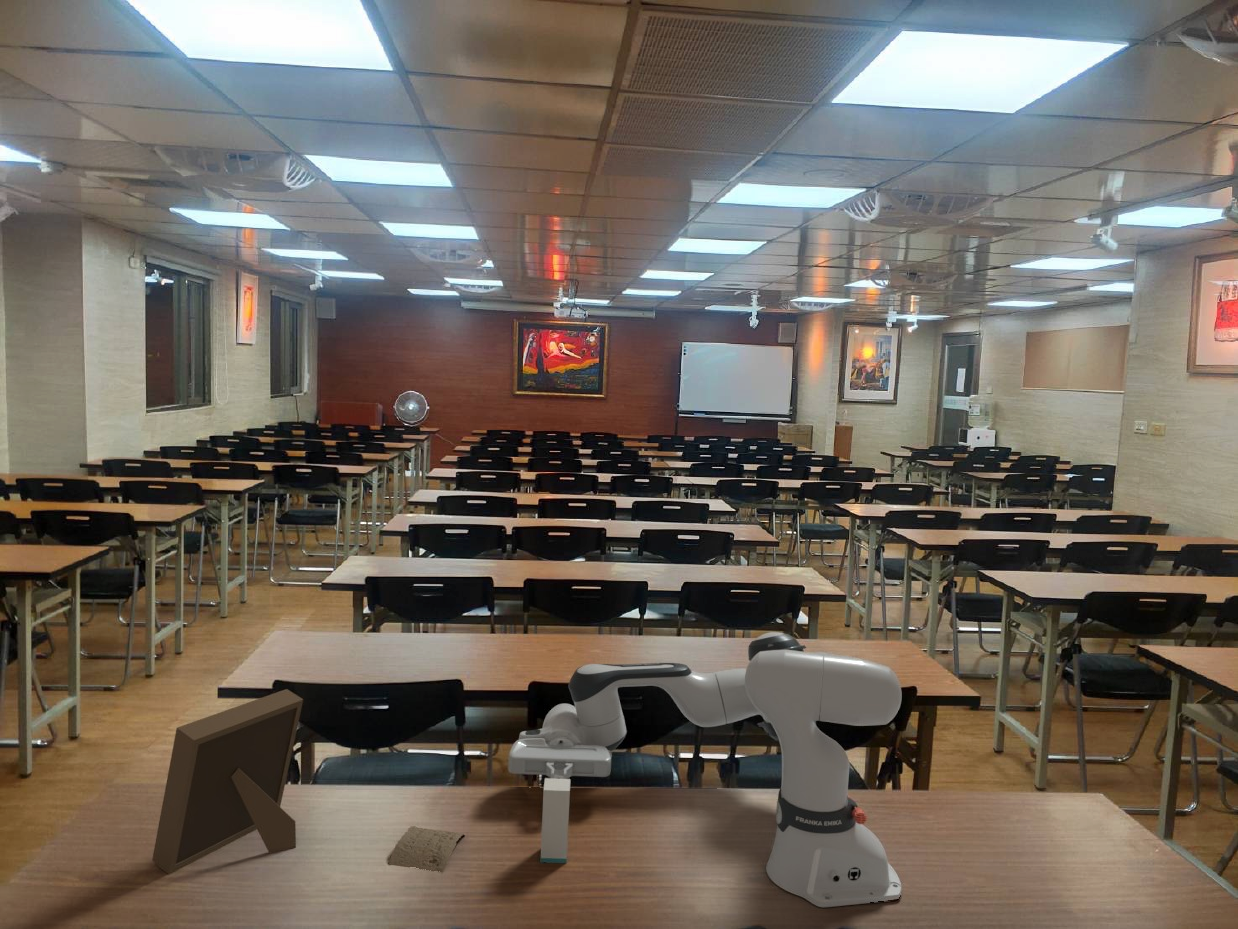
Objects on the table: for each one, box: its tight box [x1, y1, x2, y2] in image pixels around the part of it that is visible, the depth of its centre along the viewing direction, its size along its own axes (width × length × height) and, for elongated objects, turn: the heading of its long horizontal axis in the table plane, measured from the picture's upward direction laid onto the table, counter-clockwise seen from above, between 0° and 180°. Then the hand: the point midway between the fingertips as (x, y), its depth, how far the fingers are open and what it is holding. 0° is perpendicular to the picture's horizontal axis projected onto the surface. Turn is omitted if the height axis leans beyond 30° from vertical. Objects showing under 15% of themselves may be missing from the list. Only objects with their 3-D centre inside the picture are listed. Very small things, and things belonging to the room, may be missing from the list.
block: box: [539, 777, 571, 864], centre depth 151 cm, size 4×4×13 cm
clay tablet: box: [388, 825, 464, 873], centre depth 151 cm, size 15×10×3 cm
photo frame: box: [151, 688, 304, 875], centre depth 147 cm, size 15×22×25 cm
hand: (558, 778), depth 164 cm, fingers closed
